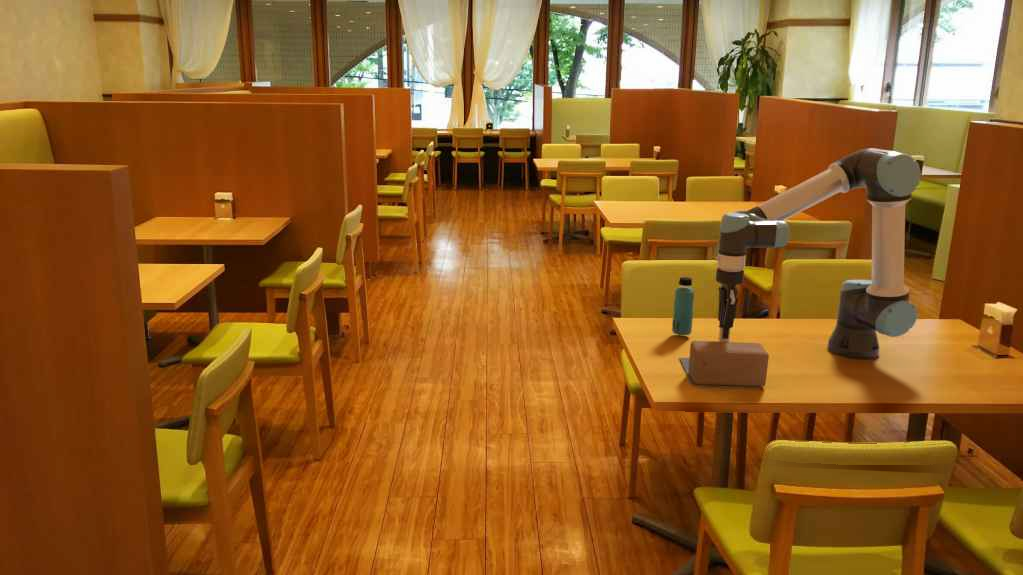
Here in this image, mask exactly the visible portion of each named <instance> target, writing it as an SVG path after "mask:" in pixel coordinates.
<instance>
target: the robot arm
mask: <svg viewBox="0 0 1023 575" xmlns="http://www.w3.org/2000/svg"><path fill="white" fill-rule="evenodd" d="M921 177H922V173H921V168H920V165H919V163H918V161H917V160H916V159H914V157H913V156H911V155H909V154H906V153H903V152H901V151H897V150H896V151H895V150H888V149H881V148H874V147H873V148H872V147H870V148H864V149H860V150H858V151H855V152H852V153H850V154H848V155H846V156H844V157H842V158H840V159H838V160H836V161H834V162H832V163H830V164H829V165H828V168H827V169H825V170H824V171H822V172H820V173H819V174H816V175H814V176H812V177H811V178H809V179H807V180H805V181H802V182H801V183H799V184H797V185H795V186H793V187H791V188H789V189H787V190H785V191H783V192H782V193H779V194H777V195H776V196H775V195H774V196H773V197H771V198H770V199H768V200H766V201H763V202H762V203H760V204H759V205H757V206H754V207H752V208H750V209H747V210H736V211H734V212H727V213H724V214H723V215H722V216H721V220H720V227H719V238H718V239H719V240H718V242H719V243H718V252H717V253H718V254H717V255H718V256H715V260H717V263H716V264H717V268H716V274H715V281H716V282H717V283H719V284H721V286H719V287H718V312H717V313H718V316H717V317H718V318H717V320H718V322H719V324H718V328H719V331H718V341H717V342H730V335H731V328H733V327H734V322H735V314H736V310H737V305H738V301H739V298H738V297H737V295H738V290H737V289H736V288H737V287H736V286H737V285H742V284H743V283H744V275H745V271H744V269H745V268H746V260H747V258H746V257H747V249H748V248H749V249H750V248H751V249H753V248H756V249H760V248H765V249H766V248H768V249H769V248H773V249H775V248H783V247H785V246H786V245H787V244H788V243H789V241H790V238H791V236H790V235H791V229H790V226H789V224H788V222H786V220H787V219H790V218H791V217H793V216H795V215H797V214H799V213H801V212H804V211H805V210H808V209H809V208H811V207H813V206H815V205H817V204H818V203H821V202H823V201H825V200H827V199H828V198H830V197H833V196H834V195H836V194H838V193H843V194H846V193H848V192H849V191H852V190H855V189H862V188H863V189H864V188H865V189H866V201H867V202H868V203H869V204H870V205H871V206H872V207H871V209H872V210H871V212H872V213H871V216H872V217H871V218H872V219H871V220H872V221H871V223H872V224H871V229H872V230H871V279H848V280H844V281H843V282H842V284H841V287H840V290H839V294H840V295H839V304H838V310H837V311H838V312H837V316H836V317H837V318H836V325H835V327H834V329H833V331H832V332H831V334H830V337H829V339H828V342H827V349H828V350H829V351H830V352H832V353H833V354H836V355H839V356H843V357H847V358H852V359H874V358H876V357H878V356H879V353H880V344H879V340H878V334H877V333H879V334H881V335H883V336H886V337H887V336H888V337H890V338H897V337H900V336H903V335H906V334H907V333H909V331H910V330H911V329H912V328H913V327H914V326H915V323H916V322H917V319H918V309H917V307H916V306H915V305H914V303H913V302H911V301H910V288H909V287H908V286H907V285H906V284H904V282H905V240H906V239H905V236H906V235H905V234H906V233H905V232H906V229H905V228H906V204H907V203H908V202H910V200H912V193H913V192H914V191H915V190H917V188H916V187H918V186H919V185H920V182H921Z"/></svg>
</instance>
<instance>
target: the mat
mask: <svg viewBox="0 0 1023 575" xmlns="http://www.w3.org/2000/svg"><path fill="white" fill-rule="evenodd" d="M678 359H679V362H680V364H681V366H682V368H683V371H684V372H685V374H686V376H687V379H688V381H689V384H690V385H691V386H692V387H709V388H731V389H732V388H734V389H735V388H736V389H754V390H755V389H757V390H758V389H759V390H761V389H762V387H761V386H736V385H712V384H696V383H694V382H693V380H692V378H691V375H690V373H689V371H688V368H689V357H679V358H678Z"/></svg>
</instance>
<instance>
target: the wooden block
mask: <svg viewBox="0 0 1023 575" xmlns="http://www.w3.org/2000/svg"><path fill="white" fill-rule="evenodd" d="M689 347H690V348H689V357H688V358H689V368H688V371H689V373H690V375H691V378H692V380H693V382H694V383H696V384H712V385H736V386H760V387H761V388H762V387H765V386H766V382H767V374H768V367H769V357H770V355H769V353H768V352H767V350H766V349H765V348H764V346H763V345H762V344H761V343H759V342H741V341H740V342H738V341H736V342H734V341H729V342H718V341H717V340H716V341H715V340H713V341H712V340H711V341H710V340H693V341H691V343H690V346H689Z"/></svg>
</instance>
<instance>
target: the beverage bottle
mask: <svg viewBox="0 0 1023 575" xmlns="http://www.w3.org/2000/svg"><path fill="white" fill-rule="evenodd" d="M678 285H680V286H678V287H677V288H676V289H675V290H674V301H673V313H672V314H673V315H672V323H671V325H672V327H671V331H672V333H673V334H675V335H678V336H690V335H691V334H692V332H693V331H692V329H693V315H694V301H695V300H694V299H695V294H696V293H695V290H694V289H693V288H692V287H690V286H692V285H693V279H692V278H691V277H687V276H682V277H680V278H679V279H678Z"/></svg>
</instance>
